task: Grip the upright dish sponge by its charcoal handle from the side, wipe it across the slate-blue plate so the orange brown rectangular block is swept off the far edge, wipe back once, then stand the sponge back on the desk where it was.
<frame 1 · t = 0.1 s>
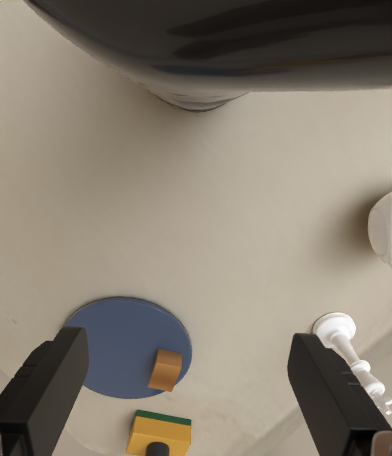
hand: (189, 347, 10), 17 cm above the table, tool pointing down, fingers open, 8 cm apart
plate: (127, 348, 33), on the table
dish sponge: (160, 425, 39), on the table
chess piece: (331, 327, 33), on the table
white round lump: (387, 212, 27), on the table
orange brown rectangular block: (165, 363, 33), point 1 cm above the table, touching plate
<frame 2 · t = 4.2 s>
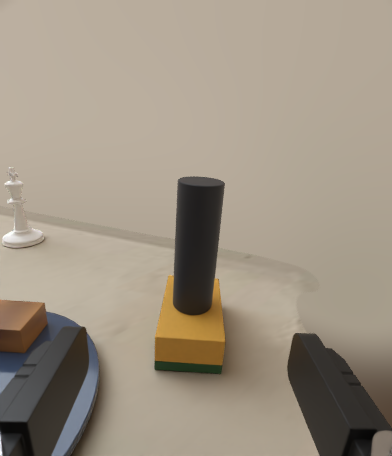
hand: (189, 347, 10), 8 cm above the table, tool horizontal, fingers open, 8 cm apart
dish sponge: (190, 331, 23), on the table
chess piece: (24, 241, 37), on the table
orange brown rectangular block: (9, 335, 20), point 1 cm above the table, touching plate
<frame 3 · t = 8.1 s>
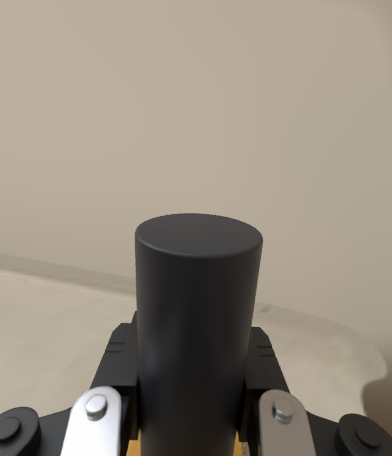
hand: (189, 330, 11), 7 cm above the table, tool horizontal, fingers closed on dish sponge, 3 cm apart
when the fingers open (8 cm above the table, at t = 28.7 s): dish sponge stays where it is, on the table.
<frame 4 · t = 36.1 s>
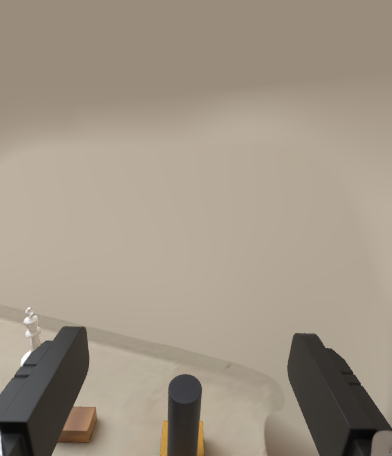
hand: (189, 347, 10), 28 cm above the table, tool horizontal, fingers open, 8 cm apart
chess piece: (38, 361, 44), on the table
orange brown rectangular block: (76, 429, 34), on the table
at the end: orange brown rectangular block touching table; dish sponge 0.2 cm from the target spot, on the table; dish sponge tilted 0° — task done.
